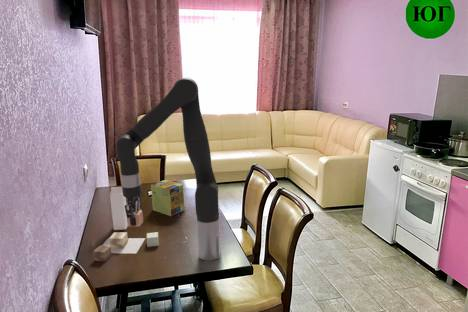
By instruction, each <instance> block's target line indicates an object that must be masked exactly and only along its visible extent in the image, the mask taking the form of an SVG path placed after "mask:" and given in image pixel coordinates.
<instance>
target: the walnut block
mask: <svg viewBox="0 0 468 312" xmlns="http://www.w3.org/2000/svg"><path fill="white" fill-rule="evenodd" d="M92 252H93V259H94V261H96V262H104V263H105V262H106V261H108V260H109V259H110V258H111V257H112V254H113V253H111V247H110V246H102V245H99V246H98V247H97V248H95V249H94V250H93V251H92Z"/></svg>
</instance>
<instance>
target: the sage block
mask: <svg viewBox="0 0 468 312" xmlns="http://www.w3.org/2000/svg"><path fill="white" fill-rule="evenodd" d="M146 245H147V248H151V247H157V246H160V243H159V231H157V232H156V231H155V232H147V233H146Z"/></svg>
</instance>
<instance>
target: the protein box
mask: <svg viewBox="0 0 468 312" xmlns="http://www.w3.org/2000/svg"><path fill="white" fill-rule="evenodd" d="M150 190H151V191H150V192H151V203H152V211H154V212H158V213H160V214H163V215H166V216H169V217H172V216H175V215H177V214H180V213H181V212H184V211H185V199H184V198H185V196H184V195H185V193H184V184H183V183H178V182H174V181H170V180H167V179H164V180H161V181H157V182H155V183H151V184H150Z"/></svg>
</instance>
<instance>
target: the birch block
mask: <svg viewBox="0 0 468 312" xmlns="http://www.w3.org/2000/svg"><path fill="white" fill-rule="evenodd" d="M108 238H109V241H110V247H111V249H124V247H125V246H126V245H127V243H128V231H127V232H126V231H125V232H124V231H123V232H122V231H121V232H120V231H119V232H118V231H116V232H115V231H114V232H113V233H112V234H111V235H110V237H108Z"/></svg>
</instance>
